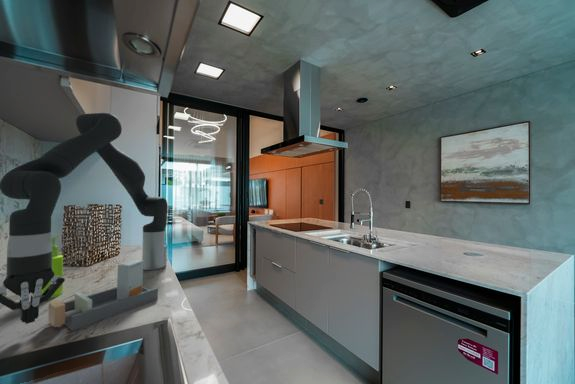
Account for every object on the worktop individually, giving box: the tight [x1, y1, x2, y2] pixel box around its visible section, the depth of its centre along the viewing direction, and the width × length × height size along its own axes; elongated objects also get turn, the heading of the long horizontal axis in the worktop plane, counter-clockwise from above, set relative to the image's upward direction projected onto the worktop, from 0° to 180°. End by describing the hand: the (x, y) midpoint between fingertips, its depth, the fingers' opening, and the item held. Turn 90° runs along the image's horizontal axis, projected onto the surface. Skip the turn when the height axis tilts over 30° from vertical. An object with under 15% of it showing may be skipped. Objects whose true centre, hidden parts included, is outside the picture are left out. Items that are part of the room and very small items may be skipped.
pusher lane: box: [63, 285, 159, 332], centre depth 73 cm, size 22×12×4 cm, turn 148°
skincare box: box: [116, 259, 144, 301], centre depth 77 cm, size 6×4×12 cm
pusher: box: [47, 291, 92, 328], centre depth 64 cm, size 7×10×5 cm
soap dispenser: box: [41, 236, 64, 299], centre depth 80 cm, size 6×7×20 cm
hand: (29, 321), depth 58 cm, fingers closed
